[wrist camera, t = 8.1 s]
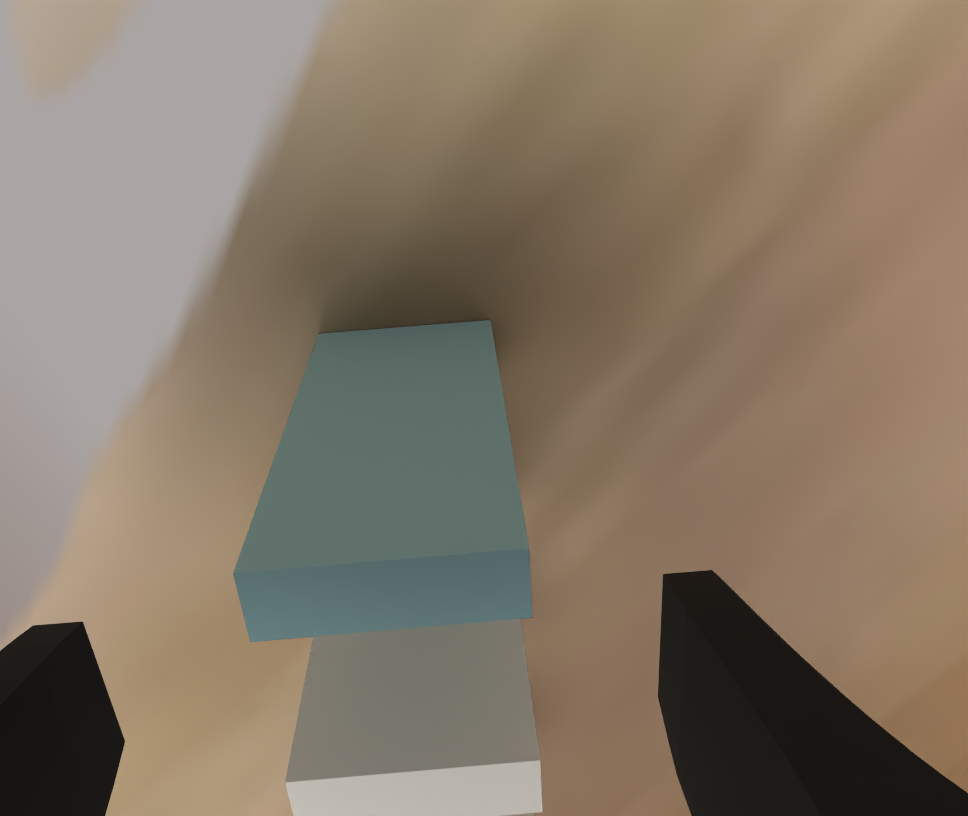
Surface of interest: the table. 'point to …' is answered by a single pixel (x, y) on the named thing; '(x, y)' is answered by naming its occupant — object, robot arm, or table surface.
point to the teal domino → (390, 492)
